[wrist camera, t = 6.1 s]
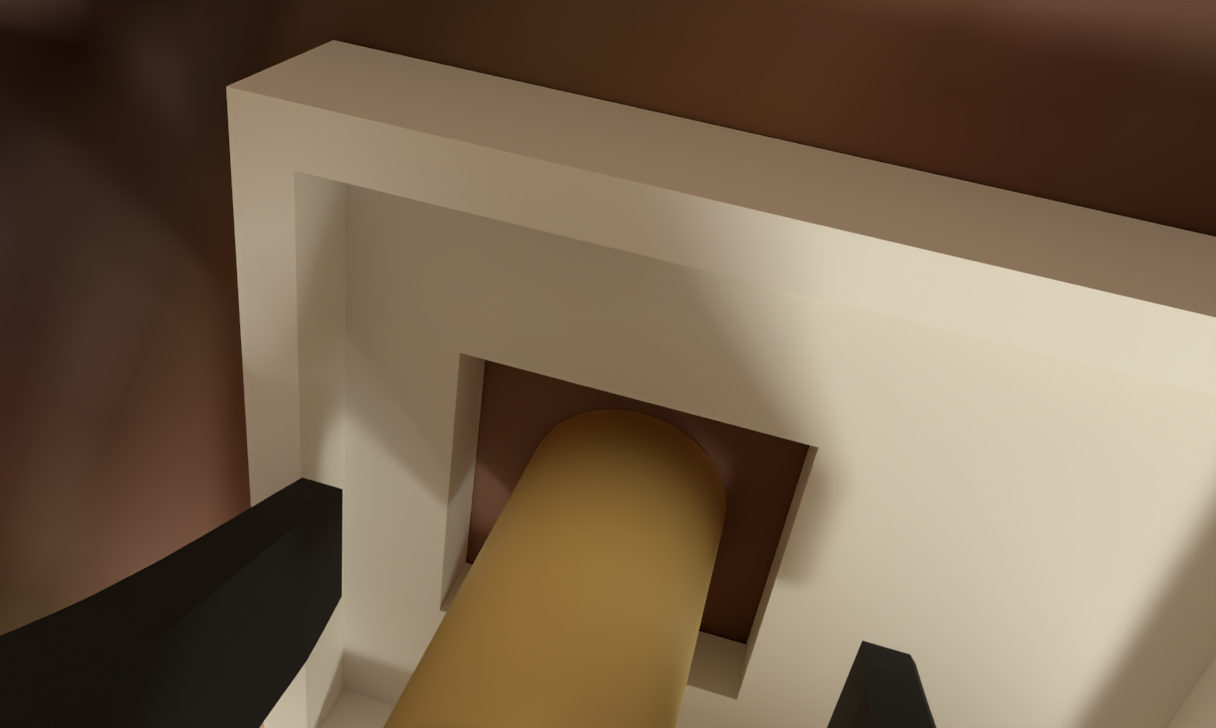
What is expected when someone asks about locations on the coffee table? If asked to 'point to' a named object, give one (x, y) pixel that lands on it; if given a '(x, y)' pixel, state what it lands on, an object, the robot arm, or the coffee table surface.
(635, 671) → the peg
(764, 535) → the coffee table surface
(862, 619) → the bore box
